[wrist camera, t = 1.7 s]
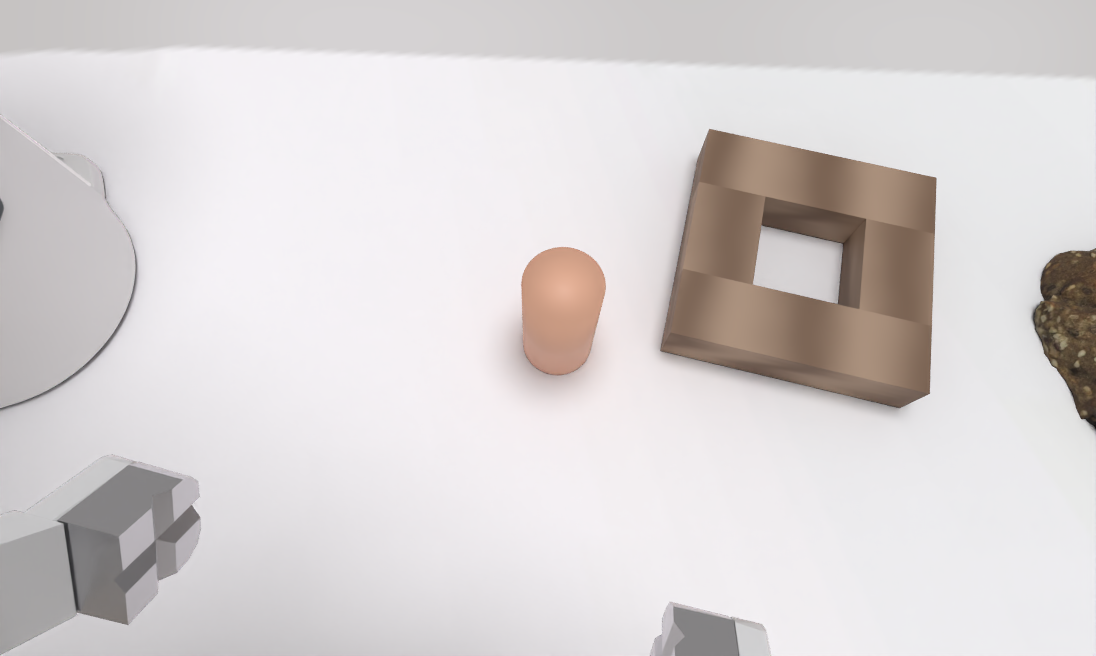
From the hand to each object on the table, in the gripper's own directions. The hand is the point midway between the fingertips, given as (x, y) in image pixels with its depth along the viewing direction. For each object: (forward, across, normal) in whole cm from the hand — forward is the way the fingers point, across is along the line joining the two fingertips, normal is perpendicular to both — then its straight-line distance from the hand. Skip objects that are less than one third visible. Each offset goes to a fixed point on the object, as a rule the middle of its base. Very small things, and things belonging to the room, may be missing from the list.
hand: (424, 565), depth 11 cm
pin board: (+32, -13, +2) cm, 35 cm away
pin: (+27, 0, +8) cm, 28 cm away
